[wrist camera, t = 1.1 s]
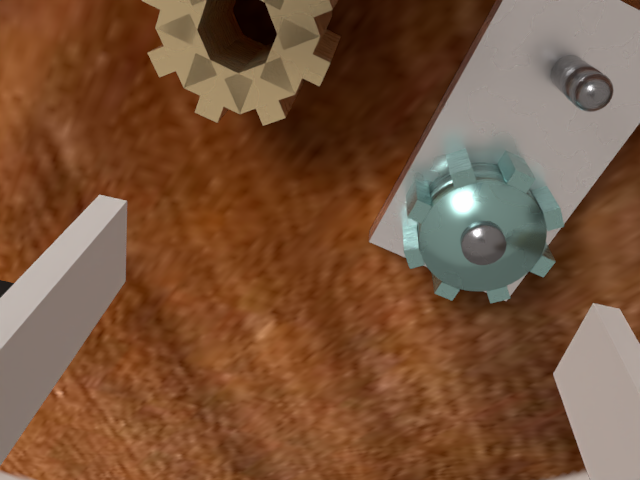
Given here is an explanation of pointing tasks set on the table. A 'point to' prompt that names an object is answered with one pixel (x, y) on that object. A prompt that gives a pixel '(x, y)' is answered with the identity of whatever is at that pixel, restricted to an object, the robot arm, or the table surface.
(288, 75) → the gear
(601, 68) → the carrier
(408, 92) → the table surface
